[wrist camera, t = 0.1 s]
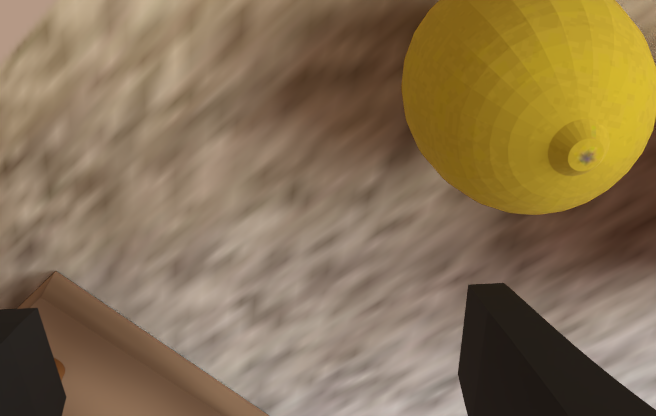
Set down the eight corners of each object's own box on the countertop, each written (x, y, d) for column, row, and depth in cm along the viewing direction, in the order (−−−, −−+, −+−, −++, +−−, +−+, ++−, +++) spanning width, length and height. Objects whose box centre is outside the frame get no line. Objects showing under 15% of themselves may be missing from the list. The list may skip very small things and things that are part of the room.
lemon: (357, 106, 19) (399, 244, 12) (422, -80, 16) (522, -41, 10) (514, 150, 20) (635, 300, 13) (598, -18, 18) (803, 57, 11)
